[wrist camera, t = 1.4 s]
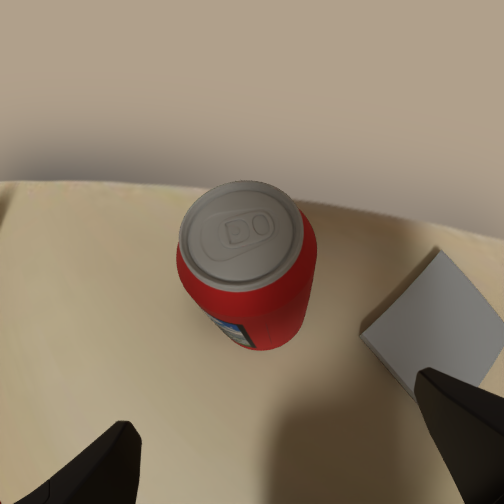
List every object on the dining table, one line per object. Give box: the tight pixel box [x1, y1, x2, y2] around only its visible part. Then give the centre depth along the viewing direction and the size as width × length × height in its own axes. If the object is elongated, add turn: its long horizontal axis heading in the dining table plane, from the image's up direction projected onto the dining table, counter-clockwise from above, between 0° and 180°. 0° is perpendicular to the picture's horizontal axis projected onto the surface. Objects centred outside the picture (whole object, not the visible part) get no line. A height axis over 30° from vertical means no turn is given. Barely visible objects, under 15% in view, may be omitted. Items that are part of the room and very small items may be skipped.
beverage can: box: [176, 181, 317, 351], centre depth 17 cm, size 7×7×12 cm
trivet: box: [359, 250, 504, 404], centre depth 19 cm, size 11×11×1 cm
